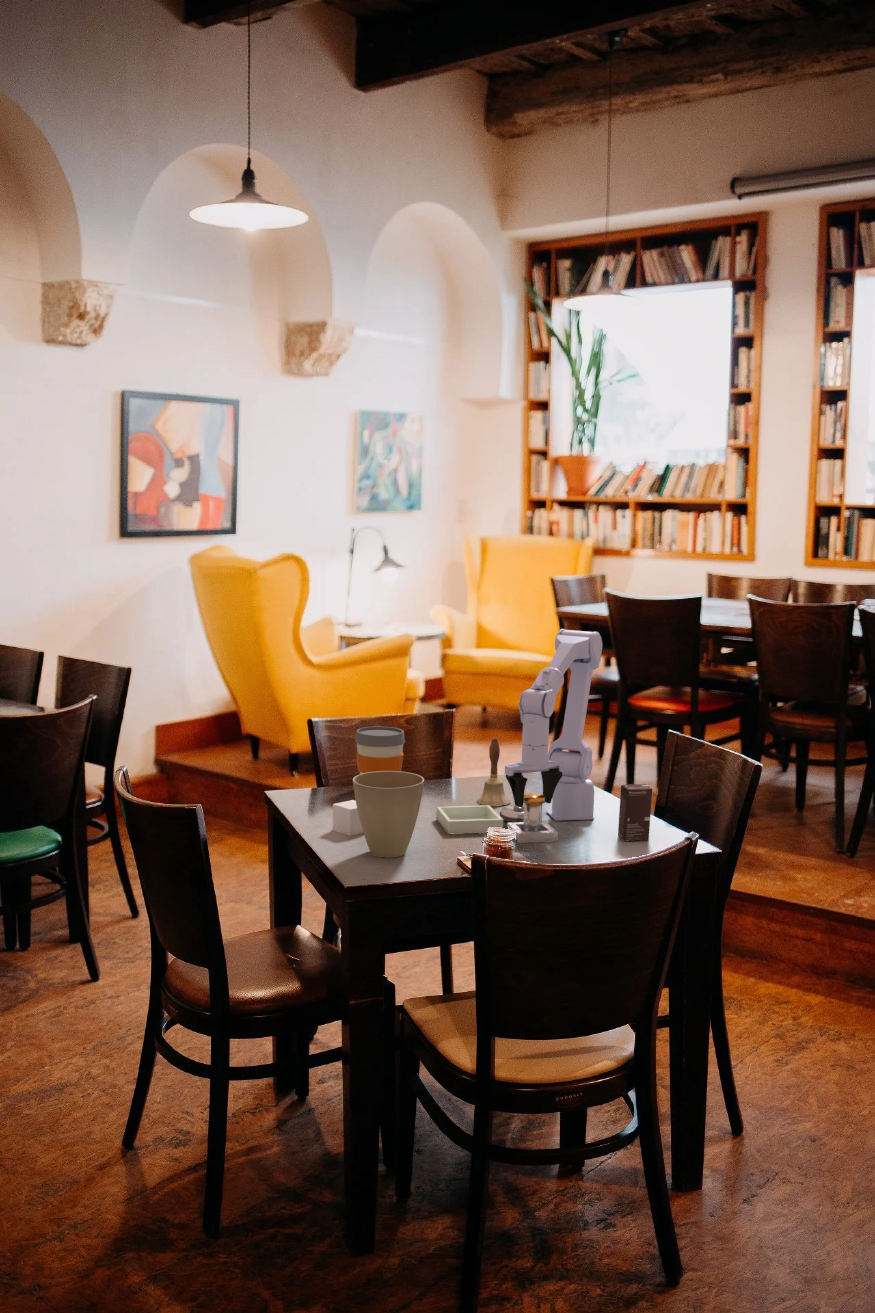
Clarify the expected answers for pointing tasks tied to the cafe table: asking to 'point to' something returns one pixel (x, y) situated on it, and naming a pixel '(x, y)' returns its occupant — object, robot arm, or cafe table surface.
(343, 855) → the cafe table surface
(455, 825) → the parts tray
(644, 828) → the box
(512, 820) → the tensioner bracket
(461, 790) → the cafe table surface
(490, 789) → the hand bell
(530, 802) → the jar with gold lid
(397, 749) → the reusable coffee cup
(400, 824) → the plant pot
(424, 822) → the cafe table surface
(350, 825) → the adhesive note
